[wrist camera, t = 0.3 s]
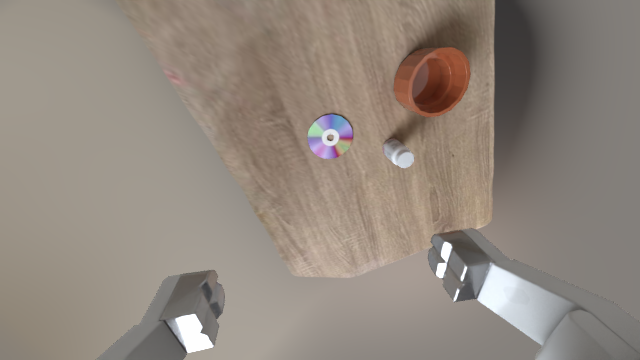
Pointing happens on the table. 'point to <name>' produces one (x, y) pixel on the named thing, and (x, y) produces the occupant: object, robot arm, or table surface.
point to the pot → (432, 80)
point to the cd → (323, 129)
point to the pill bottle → (398, 153)
